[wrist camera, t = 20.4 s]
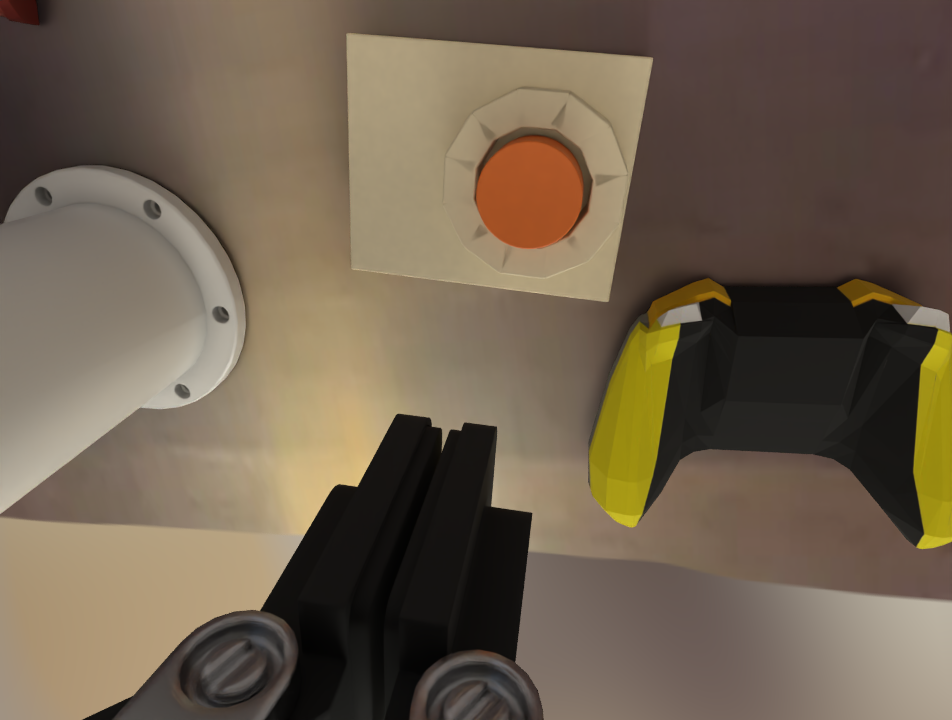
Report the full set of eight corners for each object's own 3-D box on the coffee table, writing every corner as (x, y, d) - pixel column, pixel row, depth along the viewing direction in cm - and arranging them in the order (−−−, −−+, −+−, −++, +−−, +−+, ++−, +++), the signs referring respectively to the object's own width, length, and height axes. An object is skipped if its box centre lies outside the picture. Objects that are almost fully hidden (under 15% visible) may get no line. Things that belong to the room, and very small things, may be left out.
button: (480, 230, 23) (472, 243, 22) (488, 130, 21) (479, 135, 20) (575, 242, 23) (574, 255, 21) (590, 140, 21) (590, 146, 19)
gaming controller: (915, 480, 28) (981, 273, 24) (981, 567, 23) (1079, 327, 19) (587, 461, 31) (593, 272, 27) (586, 536, 26) (593, 320, 22)
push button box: (367, 254, 28) (334, 282, 25) (365, 34, 24) (326, 30, 21) (607, 285, 27) (609, 319, 23) (648, 57, 23) (658, 57, 19)
